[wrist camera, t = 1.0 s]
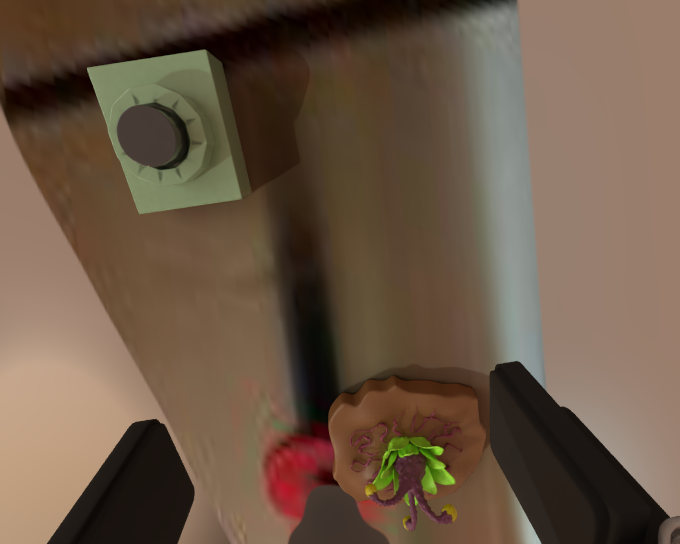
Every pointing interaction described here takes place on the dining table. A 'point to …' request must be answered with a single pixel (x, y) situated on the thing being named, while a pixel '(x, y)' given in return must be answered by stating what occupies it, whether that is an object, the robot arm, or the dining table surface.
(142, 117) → the dark round button cap
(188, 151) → the button base
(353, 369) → the dining table surface
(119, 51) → the dining table surface
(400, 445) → the plant
